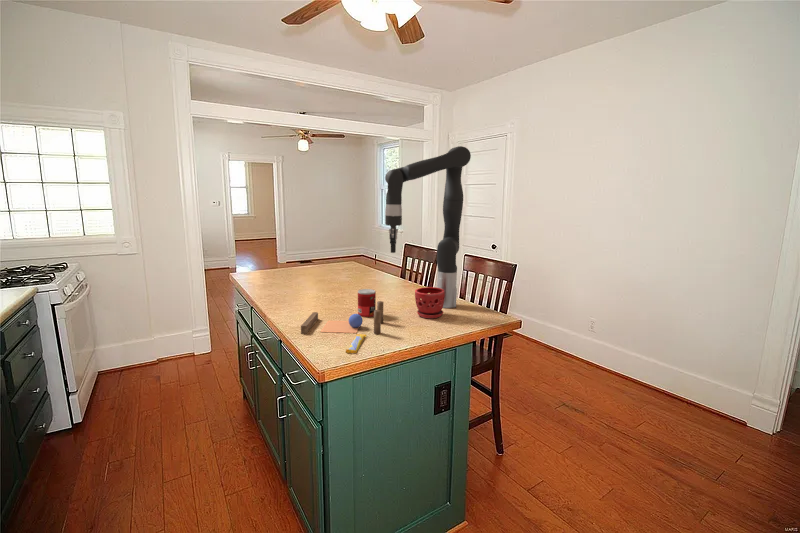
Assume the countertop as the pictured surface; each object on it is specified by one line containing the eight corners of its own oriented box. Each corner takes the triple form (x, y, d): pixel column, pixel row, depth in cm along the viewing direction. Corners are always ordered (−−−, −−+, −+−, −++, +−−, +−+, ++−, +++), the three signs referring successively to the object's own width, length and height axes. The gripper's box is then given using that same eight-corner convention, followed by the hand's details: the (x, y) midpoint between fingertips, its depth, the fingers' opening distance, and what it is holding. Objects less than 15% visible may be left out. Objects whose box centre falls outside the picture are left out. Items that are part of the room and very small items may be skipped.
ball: (353, 309, 154) (346, 321, 154) (352, 313, 148) (345, 325, 149) (365, 315, 154) (359, 327, 155) (364, 319, 149) (358, 331, 149)
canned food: (373, 318, 165) (373, 293, 163) (355, 316, 166) (355, 292, 164) (377, 313, 172) (377, 289, 170) (360, 311, 174) (360, 288, 172)
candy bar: (356, 356, 126) (356, 350, 125) (344, 355, 126) (344, 350, 126) (366, 338, 142) (366, 333, 142) (356, 337, 143) (356, 332, 142)
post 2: (380, 332, 147) (381, 309, 146) (380, 334, 145) (380, 311, 143) (374, 331, 147) (374, 309, 146) (373, 334, 145) (373, 311, 143)
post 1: (383, 321, 160) (383, 301, 158) (382, 323, 157) (383, 302, 155) (377, 321, 160) (377, 301, 158) (376, 323, 157) (376, 302, 156)
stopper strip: (318, 319, 162) (317, 312, 161) (306, 333, 144) (306, 326, 144) (313, 318, 162) (313, 312, 161) (301, 333, 144) (300, 326, 144)
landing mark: (361, 321, 159) (361, 321, 159) (356, 333, 146) (356, 332, 145) (328, 320, 160) (328, 320, 160) (320, 332, 146) (320, 331, 146)
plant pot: (427, 309, 178) (428, 285, 176) (449, 316, 169) (450, 290, 167) (408, 315, 169) (408, 289, 167) (430, 322, 160) (431, 294, 158)
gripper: (386, 214, 177) (386, 250, 180) (384, 215, 164) (383, 254, 167) (402, 214, 177) (401, 250, 180) (401, 215, 164) (400, 254, 167)
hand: (393, 252), depth 174 cm, fingers closed
